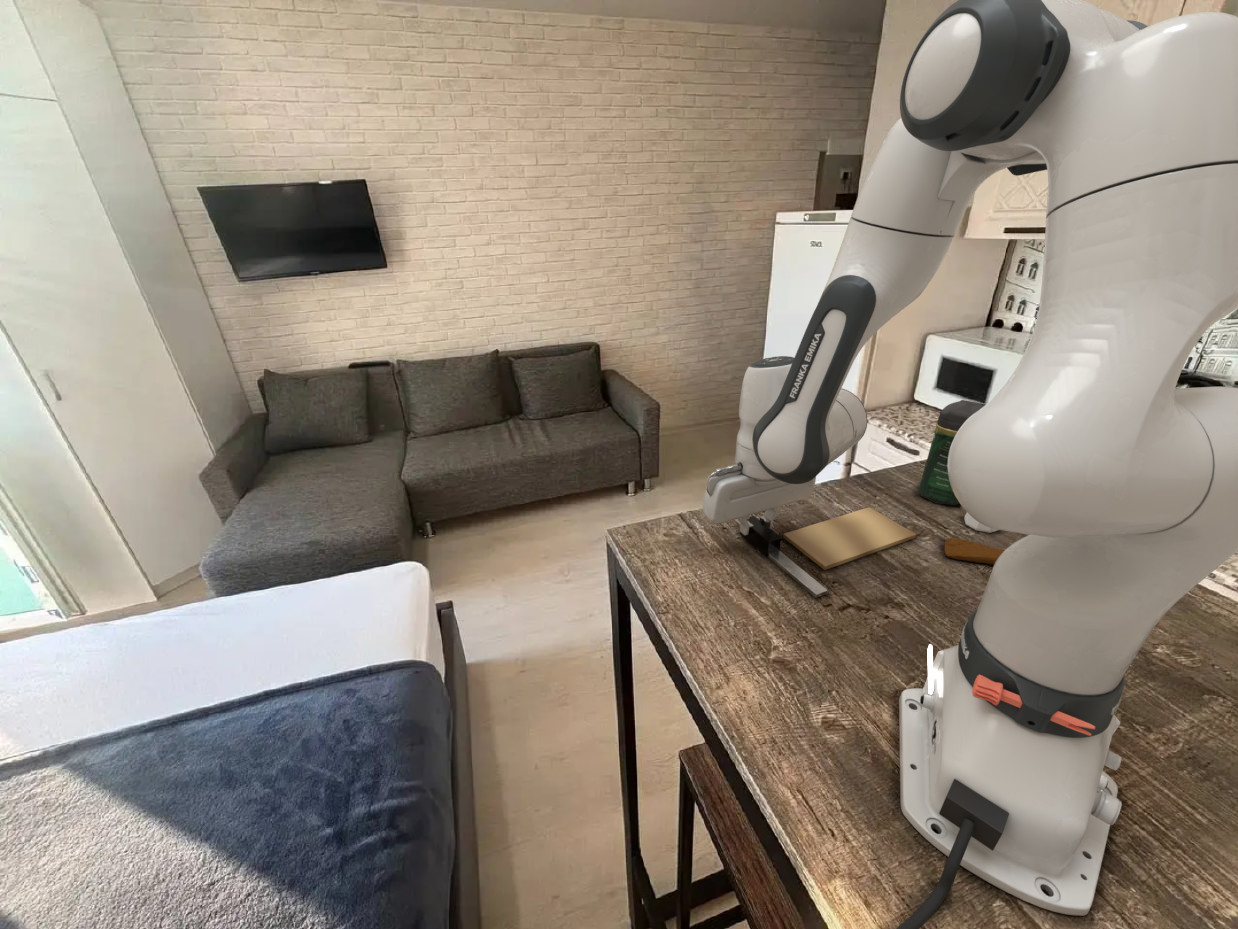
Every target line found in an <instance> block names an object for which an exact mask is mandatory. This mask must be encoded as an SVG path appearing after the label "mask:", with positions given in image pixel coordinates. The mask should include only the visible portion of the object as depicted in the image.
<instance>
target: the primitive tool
mask: <svg viewBox="0 0 1238 929" xmlns="http://www.w3.org/2000/svg"><path fill="white" fill-rule="evenodd" d="M1005 550H1006V549H1004V548H1003V549H1002V548H997V547H992V546H989V545H984V544H981V543H975V542H971V541H969V540H967V539H959V538H954V537H953V538H952V537H951V538H946V539H945V541H944V554H945V556H946V557H947V558H951V559H953V560H959V561H967V562H972V563H982V564H987V565H993V566H994V564H995V562H996V560H997V559H998V557H999V556H1000V555H1001V554H1002V553H1003V552H1004V551H1005Z"/></svg>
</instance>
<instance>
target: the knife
mask: <svg viewBox="0 0 1238 929" xmlns="http://www.w3.org/2000/svg"><path fill="white" fill-rule="evenodd" d="M748 521H749V522H750V523H751V524H752V525H754V528H753V533H751V534H748V535H744V534H743V533H741V531H740V530H739V535H741V537H743V539H745V540H746V541H747V542H748V543H749V544H750V545H751V546H753V547H754V548H755V549H757V551H759V552H760V554H762V555H763V556H764V557H766V558H768V559H769V560H771V561H772V562H773V563H774V564H775V565H776V566H777V567H778V568H780V570H782V571H783V572H784V573H785V574H787V575H788V576H789V577H790V578H792V579H793V581H795V582H796V583H797V584H798V585H799V586H801V588H802V589H804V590H805V591H807V593H809V594H810V595H811V596H812V597H813V598H815V599H818V598H820V597H823V596H826V595H827V594H828V592H829V591H828V589H827V588H826V587H824V585H822V584H821V583H820V582H818V581H817V580H816V579H815V578H814V577H812V576H811V575H810V574H809V573H808V572H807V571H805V570H804V569H803V568H801V567H800V566H799V565H798V564H797V563H796V562H794V561H793V560H792V559H790V558H789V556H787V555H785V554H784V553H783V552H782V551H781V545H782V536H780V535H779V534H778V533H776V532H775V531H774V530H773V529H771V528H769V527H767V526H766V525H765V524H763V523H762V522H761V521H760V519H759V518H757V517H756V516H755V515H750V518H749V519H748Z"/></svg>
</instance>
